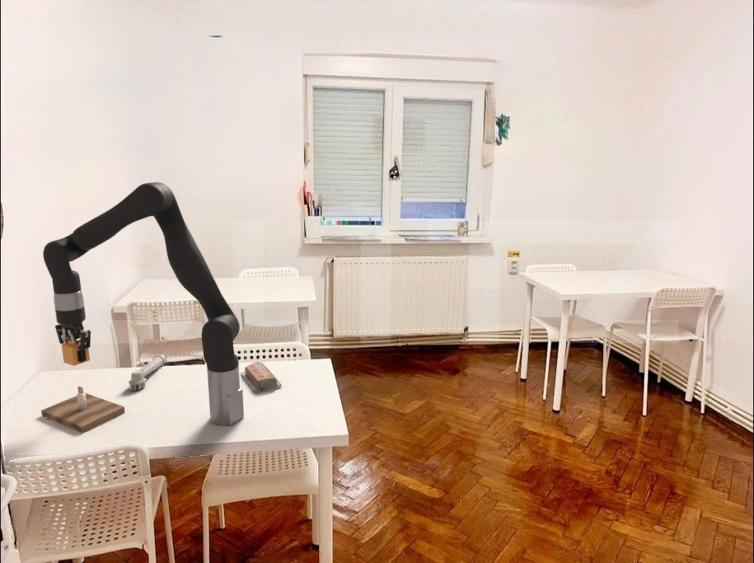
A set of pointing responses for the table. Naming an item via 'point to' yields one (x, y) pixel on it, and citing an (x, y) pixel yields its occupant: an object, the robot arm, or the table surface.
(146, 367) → the gray handled tool
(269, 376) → the packaged product
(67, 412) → the board
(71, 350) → the orange rounded block
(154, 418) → the table surface
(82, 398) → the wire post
